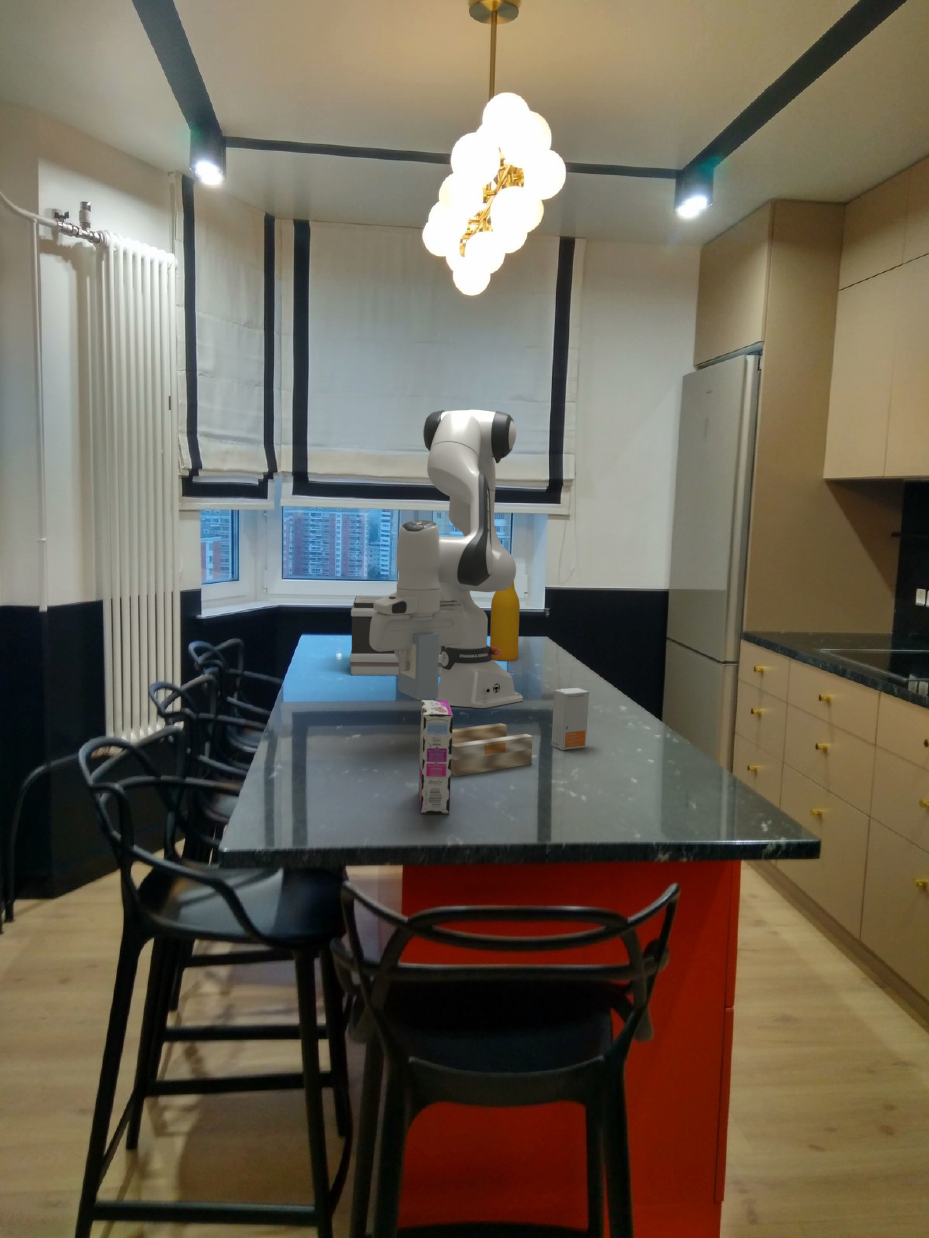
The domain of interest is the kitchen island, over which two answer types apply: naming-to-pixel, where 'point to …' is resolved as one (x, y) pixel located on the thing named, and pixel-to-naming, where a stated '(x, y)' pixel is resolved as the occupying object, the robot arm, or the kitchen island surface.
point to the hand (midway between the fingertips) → (417, 669)
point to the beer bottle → (505, 624)
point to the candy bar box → (435, 756)
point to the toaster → (362, 653)
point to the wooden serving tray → (488, 749)
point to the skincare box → (570, 718)
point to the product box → (421, 667)
